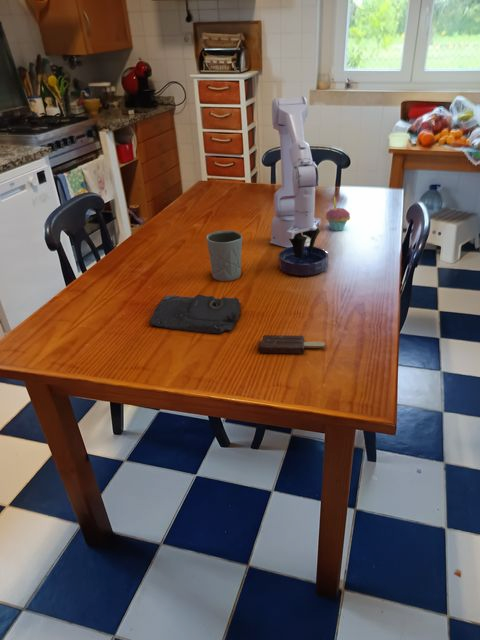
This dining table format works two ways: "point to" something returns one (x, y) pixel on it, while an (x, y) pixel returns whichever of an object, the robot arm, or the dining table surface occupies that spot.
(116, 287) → the dining table surface
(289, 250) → the bowl
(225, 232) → the grey green cup
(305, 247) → the milkshake
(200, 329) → the black snap pouch
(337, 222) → the cupcake
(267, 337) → the ice cream bar
